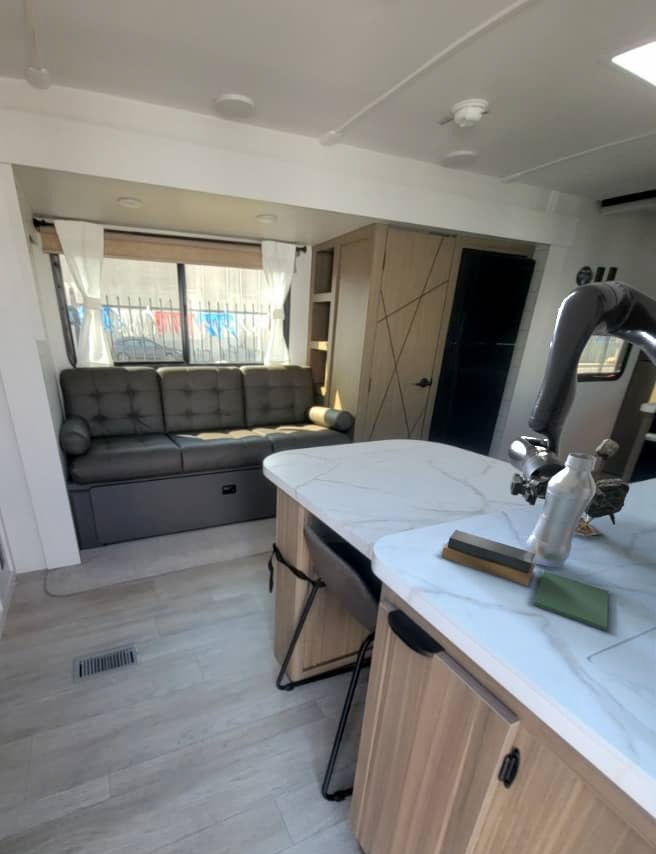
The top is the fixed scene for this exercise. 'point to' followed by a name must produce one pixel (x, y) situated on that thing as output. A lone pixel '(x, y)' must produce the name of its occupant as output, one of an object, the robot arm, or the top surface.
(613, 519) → the plant with pod
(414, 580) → the top surface
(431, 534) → the top surface
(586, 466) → the silver metal bottle
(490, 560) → the grey and wooden block
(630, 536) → the top surface
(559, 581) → the drying mat
